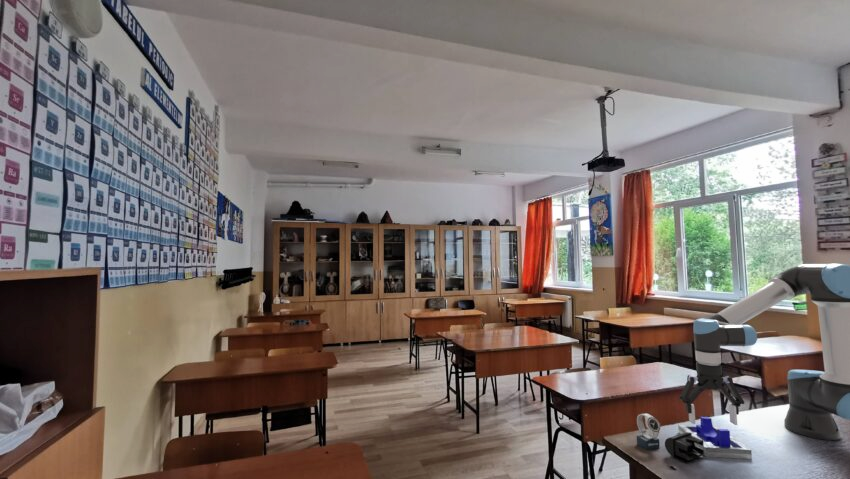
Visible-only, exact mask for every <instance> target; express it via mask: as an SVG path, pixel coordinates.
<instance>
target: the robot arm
mask: <svg viewBox="0 0 850 479" xmlns="http://www.w3.org/2000/svg"><path fill="white" fill-rule="evenodd" d="M801 295H810V302H812V303H813V304H815V305H816V306H817V313H818V322H819V330H820V339H821V347H822V348H821V350H822V358H823V367H824V371H821V370H813V369H811V370H810V369H790V370H788V372H787V379H786V381H787V388H788V389H787V392H788V402H789V403H788V404H789V405H788V406H789V407H788V410H787V412H786V415H785V418H784V421H783V422H784V427H785V428H786V429H787V430H788V431H791V432H792V433H795V434H799V435H801V436H805V437H808V438H813V439H819V440H823V441H824V440H826V441H836V440H837V441H838V440H840V439H841V431H840V430H839V427H838V425H837V423H836V422H837V421H836V420H835V418H834V416H837V417H840V418H841V419H844V420H845V421H846V420H847V421H850V265H849V264H843V263H835V262H833V263H802V264H797V265H795V266H792V267H790V268H788V269H785V270H783V271H782V272H780V273H778V274H776V275H775V276H773V277H771V278H769V280H768V283H767V284H765V285H763V286H761V287H760V288H758V289H756V290H755V291H753V292H751V293H749V294H747V295H746V296H744V297H743V298H740V299H739V300H738V301H735V302H734V303H733V304H730V305H729V306H727V307H726V308H724V309H722V310H720V311H719V312H717V313H715V314H714V315H712V316H710V317H700V318H697V319H695V320H694V321H693V329H692V331H693V340H694V353H695V354H694V355H695V361H696V362H695V366H696V367H695V368H696V376H692V375H689V374H688V375H687V377H686V383H685V385H684V387H683V389H682V392H681V394H680V396H679V401H681V402H682V403H684V405H685V411H686V413H687V414H688V421H689V422H690V423H691V424H693V425H695V424H696V410H695V405H694V404H693V403H694V402H695V401H696V400H697V398H698V397H699V396H700V395H701V393H702V392H704V391H705V390H709V391H710V390H714V391H717V390H719V392H721V393H722V395H723V396H724V397H726V399H727V400H728V401H729V403H728V410H729V411H728V413H729V422H730V423H731V424H732V425H734V426H738V416H737V415H739V413H740V411H739V410H740V409H739V408H740V407H741V405H744V404H745V401H744V399H743V397H742V395H741V393H740V391H738V389H737V387H736V386H735V384H734V380H733V377H731V376H729V375H725V376H723V366H722V365H721V364H722V353H721V347H749V346H754V345H755V344H756V343H757V341H758V333H757V331H756V330H755V328H754V327H753V326H752V325H749V324H744V323H747V322H748V321H749V320H752V319H753V318H755V317H757V316H759V315H760V314H762V313H764V312H766V311H767V310H769V309H771V308H772V307H774V306H775V305H777V304H779V303H781V302H782V301H784V300H793V299H794V298H795V297H798V296H801ZM696 382H697V383H696ZM723 382H724V383H725V384H726V386H727V387H728V389H729V391H730V392H731V394H730V393H729V392H728V391H727V389H726V388H725V387H724V386H723V385H722V384H723ZM695 383H696V385H695ZM694 386H695V387H694Z"/></svg>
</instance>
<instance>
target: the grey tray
mask: <svg viewBox="0 0 850 479" xmlns="http://www.w3.org/2000/svg"><path fill="white" fill-rule="evenodd" d="M713 428H714V430H715V432H716V434H717V429H722V428H720V427H719V426H713ZM677 429H678V435H680V434H683V433H687V432H689V433H691V434H692V436H693V437H695V438H698V439H700V440H703V444H704V445H703V446H702V445H700V444H697V443H695V446H697V447H699V448H701V449H704V455H703V456H704V457H709V458H711V457H712V458H727V459H743V460H752V459H753V457H752V455H753V454H752V450H751V449H750V447H748V446H746V445H745V444H744V443H742V442H740V441H739V440H738V439H736V438H735V437H733V436H732V435H731V434H730V447H719V446H717V445H716V444H714V443H713V442H712V441H710V440H705V439H704V438H703V437H701V436H700V435H699V434H697V428H696V425H685V424H678V428H677Z"/></svg>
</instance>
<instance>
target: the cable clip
mask: <svg viewBox="0 0 850 479" xmlns="http://www.w3.org/2000/svg"><path fill="white" fill-rule="evenodd" d="M695 426H696V428H697V434H699V435H700V436H701V437H703V438H704V439H705V440H710V441H712V442H713V443H714V444H716V445H717V446H719V447H730V435H731V432H730V430H729V429H726V428H721V429H717V434H716V432H715V430H714V428H713V427H714V424H713V420H712V418H711V417H708V416H700V424H696V425H695Z"/></svg>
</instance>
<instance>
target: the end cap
mask: <svg viewBox="0 0 850 479" xmlns="http://www.w3.org/2000/svg"><path fill="white" fill-rule="evenodd" d="M695 443H697V444H700V445H702V446H703V445H704V444H703V440H700V439H698V438H695V437H693V436H692V434H691V433H689V432H687V433H683V434H676V435H674V436H670V437H667V438H666V439H665V441H664V447H665V450H666V452H667V453H668V454H669V455H670V456H671V457H672V458H673V459H675V460H676V461H679V462H681V463H682V464H685V465H690V464H694V463H695V462H699V461H702V460H704V456H705V455H704V449H701V448H699V447H697V446H695Z"/></svg>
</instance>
